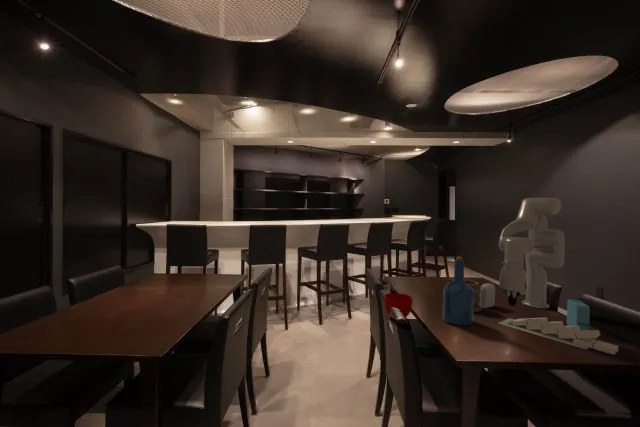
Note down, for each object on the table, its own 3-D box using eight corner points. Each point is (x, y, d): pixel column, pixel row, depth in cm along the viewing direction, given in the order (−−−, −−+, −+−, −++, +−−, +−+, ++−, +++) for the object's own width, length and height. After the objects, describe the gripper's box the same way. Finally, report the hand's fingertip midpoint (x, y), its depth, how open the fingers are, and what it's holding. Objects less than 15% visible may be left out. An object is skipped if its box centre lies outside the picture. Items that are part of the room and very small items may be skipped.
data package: (589, 335, 134) (590, 307, 134) (576, 333, 136) (577, 305, 135) (578, 325, 145) (579, 299, 145) (566, 324, 147) (567, 298, 147)
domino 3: (545, 326, 137) (578, 325, 128) (547, 330, 137) (580, 330, 128) (540, 329, 134) (574, 328, 125) (542, 333, 133) (576, 333, 124)
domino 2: (531, 322, 142) (562, 321, 133) (532, 326, 141) (563, 325, 132) (525, 325, 138) (557, 324, 129) (527, 329, 138) (559, 328, 128)
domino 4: (562, 330, 132) (598, 329, 123) (564, 335, 132) (600, 334, 123) (557, 333, 129) (594, 333, 120) (559, 338, 128) (596, 338, 119)
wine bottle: (449, 314, 156) (451, 254, 156) (477, 322, 147) (479, 257, 146) (436, 321, 146) (438, 256, 146) (466, 329, 137) (468, 260, 136)
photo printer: (487, 304, 176) (488, 281, 176) (495, 306, 172) (496, 283, 172) (477, 306, 170) (478, 283, 170) (485, 309, 167) (486, 285, 166)
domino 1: (517, 318, 146) (546, 317, 137) (519, 322, 146) (548, 321, 136) (512, 321, 142) (541, 320, 133) (513, 325, 142) (543, 324, 133)
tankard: (485, 309, 166) (486, 281, 166) (472, 313, 159) (473, 283, 158) (450, 299, 182) (451, 273, 182) (437, 303, 175) (438, 276, 175)
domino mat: (509, 319, 152) (509, 318, 152) (595, 342, 126) (595, 341, 126) (497, 324, 145) (497, 323, 145) (586, 350, 119) (586, 349, 119)
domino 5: (578, 334, 128) (618, 345, 118) (578, 339, 128) (618, 350, 118) (573, 338, 124) (614, 349, 115) (573, 342, 125) (614, 354, 115)
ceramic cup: (410, 312, 159) (411, 292, 159) (412, 323, 142) (413, 301, 142) (384, 309, 162) (384, 290, 161) (383, 320, 145) (384, 299, 145)
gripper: (492, 263, 149) (491, 302, 149) (528, 269, 137) (527, 311, 137) (500, 262, 153) (498, 300, 153) (535, 267, 141) (534, 308, 142)
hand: (512, 305), depth 145 cm, fingers closed
